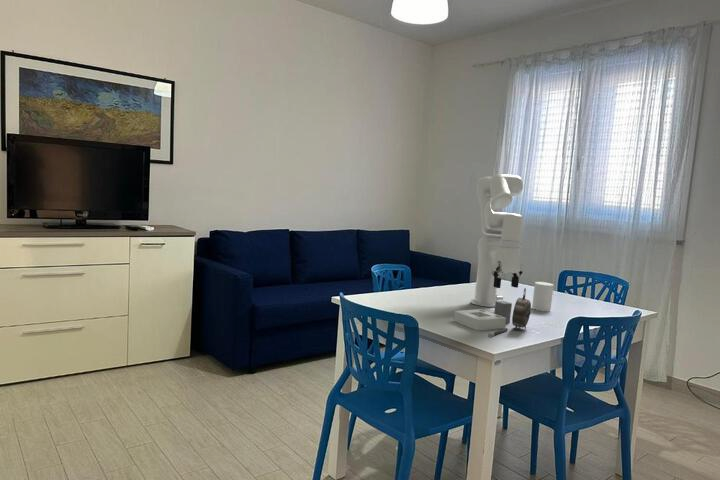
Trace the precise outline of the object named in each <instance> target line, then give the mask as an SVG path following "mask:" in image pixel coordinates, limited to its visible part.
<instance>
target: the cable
mask: <svg viewBox="0 0 720 480" xmlns="http://www.w3.org/2000/svg"><path fill="white" fill-rule="evenodd" d="M508 330H509V328H508V327H505V328H501V329H500V330H497V331H495V332H493V331H492V332H488V334H487V337H489V338H494V337H495V336H497V335H499V334H502V333H504V332H507V331H508Z"/></svg>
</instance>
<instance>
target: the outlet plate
mask: <svg viewBox="0 0 720 480" xmlns="http://www.w3.org/2000/svg"><path fill="white" fill-rule="evenodd" d="M453 312H454V313H453V322H455V323H458V324H461V325H463V326H465V327H468V328H471V329H473V330H475V331H488V330H499V329H500V330H502V329H505V328H506V327H507V325H506V324H507V323H506V318H505V317H502V316H499V315H496V314H494V312H490V311H487V310H485V309H482V308H479V309H467V310H466V309H462V310H454V311H453Z"/></svg>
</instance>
